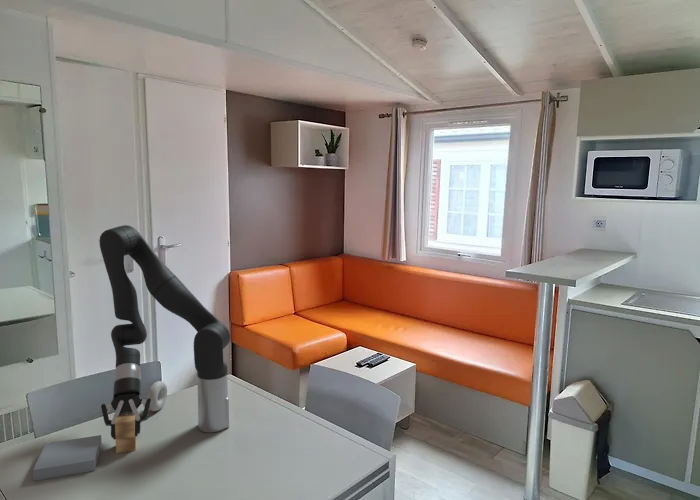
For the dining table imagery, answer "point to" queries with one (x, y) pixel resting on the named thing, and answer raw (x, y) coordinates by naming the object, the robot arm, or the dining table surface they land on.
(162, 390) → the donut
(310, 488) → the dining table surface
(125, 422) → the block
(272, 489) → the dining table surface
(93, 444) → the plinth
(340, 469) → the dining table surface
